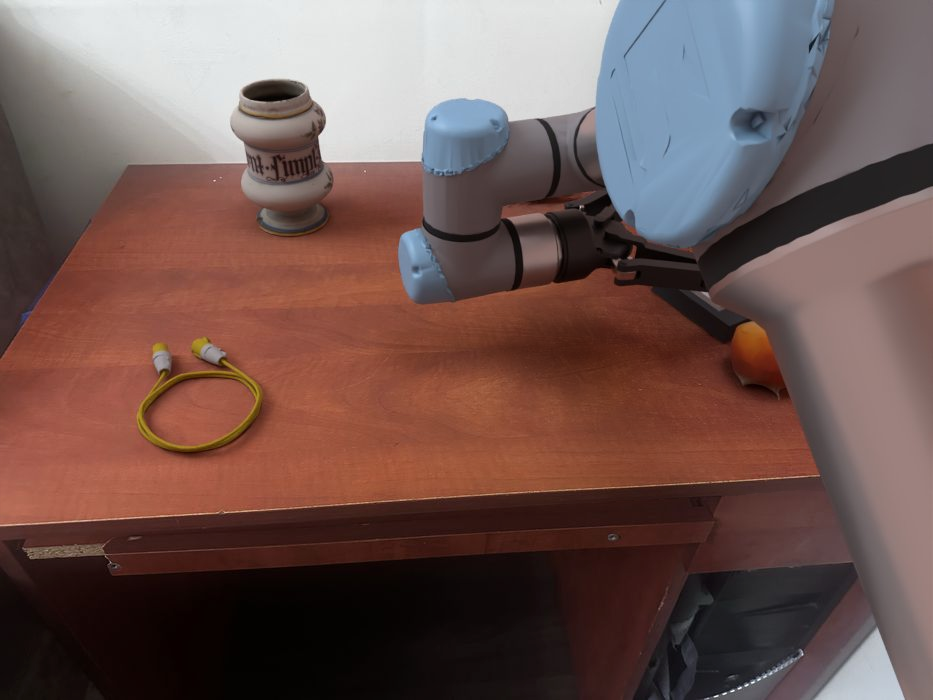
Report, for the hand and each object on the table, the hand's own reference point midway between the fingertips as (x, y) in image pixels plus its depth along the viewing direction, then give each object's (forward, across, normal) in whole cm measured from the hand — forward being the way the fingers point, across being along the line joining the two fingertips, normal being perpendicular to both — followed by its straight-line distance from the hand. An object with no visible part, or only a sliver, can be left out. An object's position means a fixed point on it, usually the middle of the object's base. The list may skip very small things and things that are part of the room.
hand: (720, 222), depth 80 cm
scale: (+3, +1, -11) cm, 12 cm away
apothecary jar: (-44, -33, -11) cm, 56 cm away
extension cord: (-58, +1, -11) cm, 59 cm away
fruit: (-1, +14, -11) cm, 18 cm away
